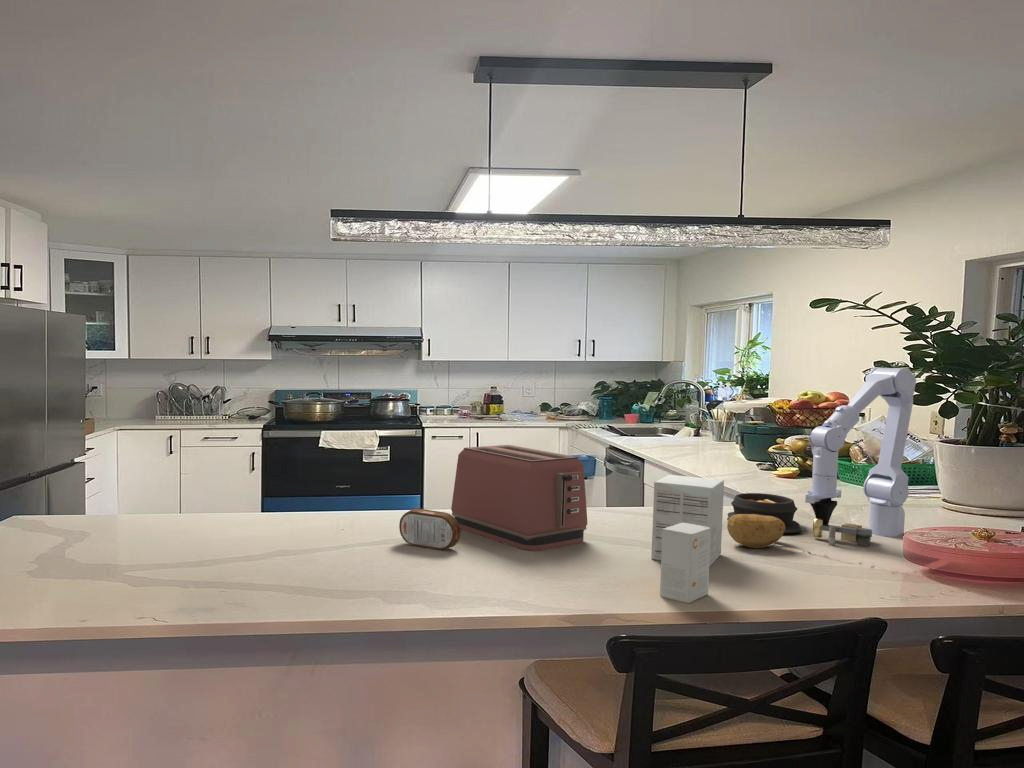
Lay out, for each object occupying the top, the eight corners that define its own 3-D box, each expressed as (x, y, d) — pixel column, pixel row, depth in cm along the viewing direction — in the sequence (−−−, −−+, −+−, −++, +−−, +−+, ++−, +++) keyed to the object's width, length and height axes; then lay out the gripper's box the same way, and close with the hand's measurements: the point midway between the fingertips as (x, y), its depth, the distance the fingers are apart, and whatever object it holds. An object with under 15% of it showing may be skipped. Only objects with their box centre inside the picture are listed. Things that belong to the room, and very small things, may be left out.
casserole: (819, 540, 200) (821, 507, 200) (750, 540, 197) (751, 507, 197) (773, 519, 225) (775, 489, 224) (711, 518, 222) (712, 489, 222)
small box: (679, 587, 155) (682, 521, 155) (709, 594, 151) (712, 527, 151) (658, 596, 149) (661, 528, 149) (689, 604, 145) (692, 533, 144)
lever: (816, 532, 201) (817, 514, 201) (873, 540, 195) (874, 521, 194) (811, 537, 195) (812, 519, 195) (870, 545, 188) (871, 527, 188)
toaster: (535, 554, 177) (538, 464, 176) (448, 525, 203) (450, 446, 202) (595, 543, 189) (598, 459, 188) (506, 517, 215) (508, 443, 214)
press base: (825, 534, 206) (826, 513, 206) (902, 550, 192) (903, 527, 191) (794, 542, 196) (795, 521, 195) (873, 560, 181) (874, 536, 181)
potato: (792, 552, 186) (793, 519, 186) (734, 551, 185) (735, 518, 185) (775, 542, 196) (776, 510, 195) (719, 541, 195) (721, 509, 194)
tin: (460, 550, 179) (461, 513, 178) (453, 553, 176) (454, 515, 175) (404, 541, 185) (405, 505, 185) (396, 544, 182) (397, 508, 182)
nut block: (846, 537, 199) (847, 523, 199) (861, 539, 196) (861, 525, 196) (840, 539, 196) (841, 525, 196) (855, 542, 194) (856, 527, 194)
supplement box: (665, 547, 188) (668, 473, 187) (721, 554, 182) (725, 479, 181) (649, 559, 176) (652, 481, 175) (709, 568, 170) (712, 487, 169)
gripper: (823, 470, 204) (821, 522, 205) (794, 475, 195) (792, 529, 195) (850, 474, 199) (847, 527, 200) (822, 479, 190) (819, 535, 190)
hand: (822, 528), depth 197 cm, fingers closed
